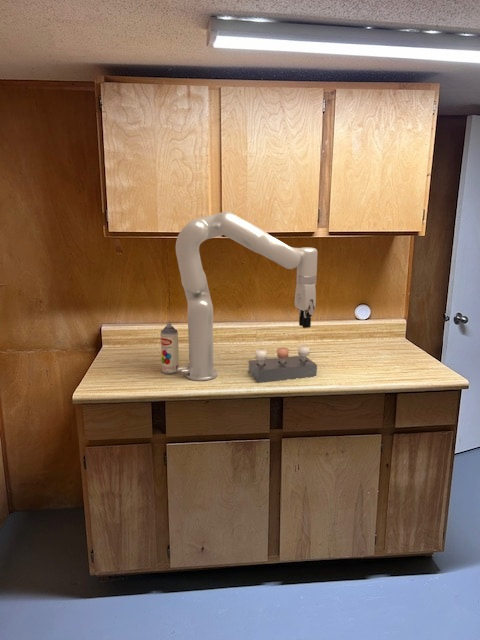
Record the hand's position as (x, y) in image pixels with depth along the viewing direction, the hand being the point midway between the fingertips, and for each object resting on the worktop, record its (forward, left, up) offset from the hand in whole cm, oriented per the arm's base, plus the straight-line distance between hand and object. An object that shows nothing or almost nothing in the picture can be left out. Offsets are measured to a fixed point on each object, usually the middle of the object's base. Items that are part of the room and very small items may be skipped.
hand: (304, 326), depth 182 cm
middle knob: (-9, 0, -17) cm, 19 cm away
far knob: (0, 0, -17) cm, 17 cm away
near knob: (-18, 0, -17) cm, 25 cm away
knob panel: (-9, 0, -19) cm, 21 cm away
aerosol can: (-51, +16, -19) cm, 57 cm away
